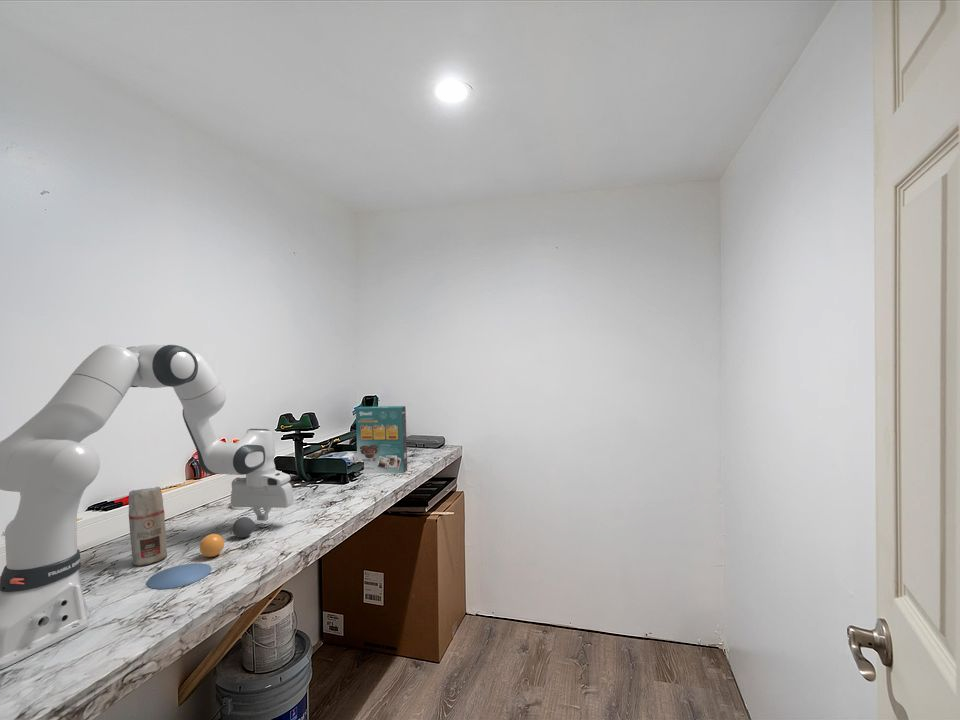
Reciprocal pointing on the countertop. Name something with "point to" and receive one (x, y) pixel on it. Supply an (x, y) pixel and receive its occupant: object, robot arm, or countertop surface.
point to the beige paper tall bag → (147, 526)
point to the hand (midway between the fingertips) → (262, 520)
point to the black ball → (243, 527)
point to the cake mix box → (382, 439)
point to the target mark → (178, 576)
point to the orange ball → (211, 545)
